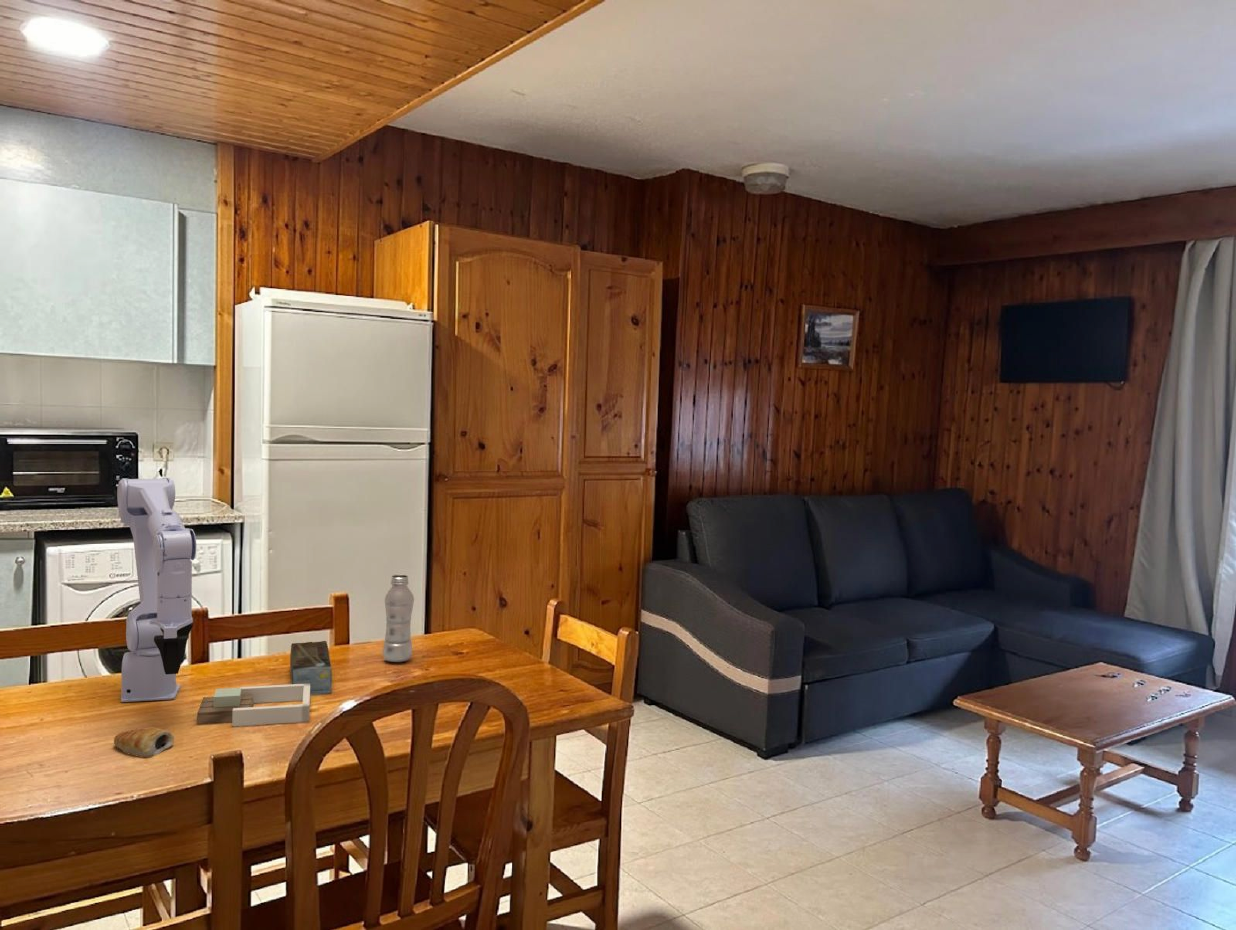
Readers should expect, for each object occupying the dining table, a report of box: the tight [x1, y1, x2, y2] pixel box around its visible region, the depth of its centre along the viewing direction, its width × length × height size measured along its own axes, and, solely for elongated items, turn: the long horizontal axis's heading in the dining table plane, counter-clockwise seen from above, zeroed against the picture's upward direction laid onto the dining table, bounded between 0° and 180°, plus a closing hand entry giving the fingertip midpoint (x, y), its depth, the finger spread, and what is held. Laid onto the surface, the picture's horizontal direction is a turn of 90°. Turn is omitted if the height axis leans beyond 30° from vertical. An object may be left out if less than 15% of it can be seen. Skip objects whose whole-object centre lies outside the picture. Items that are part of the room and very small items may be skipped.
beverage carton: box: [289, 640, 332, 696], centre depth 189 cm, size 8×19×7 cm, turn 21°
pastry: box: [113, 726, 175, 758], centre depth 151 cm, size 9×7×4 cm
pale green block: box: [213, 687, 241, 708], centre depth 168 cm, size 4×4×2 cm
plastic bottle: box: [382, 574, 415, 663], centre depth 205 cm, size 6×7×20 cm
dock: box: [231, 683, 311, 727], centre depth 170 cm, size 13×13×3 cm
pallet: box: [196, 694, 254, 726], centre depth 168 cm, size 9×9×3 cm
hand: (174, 667), depth 164 cm, fingers open, 7 cm apart
